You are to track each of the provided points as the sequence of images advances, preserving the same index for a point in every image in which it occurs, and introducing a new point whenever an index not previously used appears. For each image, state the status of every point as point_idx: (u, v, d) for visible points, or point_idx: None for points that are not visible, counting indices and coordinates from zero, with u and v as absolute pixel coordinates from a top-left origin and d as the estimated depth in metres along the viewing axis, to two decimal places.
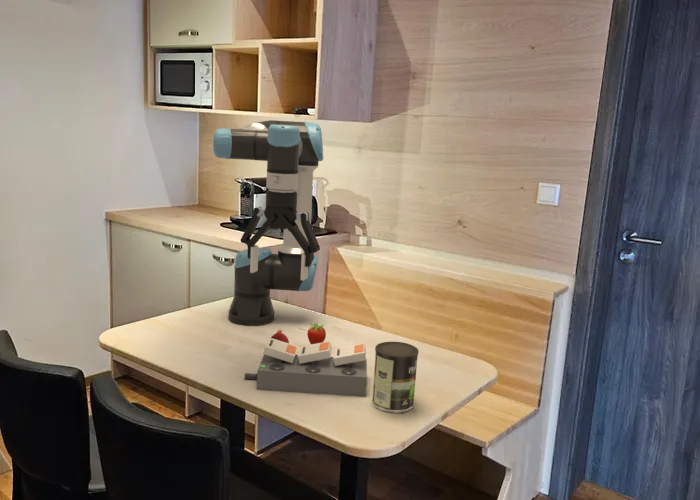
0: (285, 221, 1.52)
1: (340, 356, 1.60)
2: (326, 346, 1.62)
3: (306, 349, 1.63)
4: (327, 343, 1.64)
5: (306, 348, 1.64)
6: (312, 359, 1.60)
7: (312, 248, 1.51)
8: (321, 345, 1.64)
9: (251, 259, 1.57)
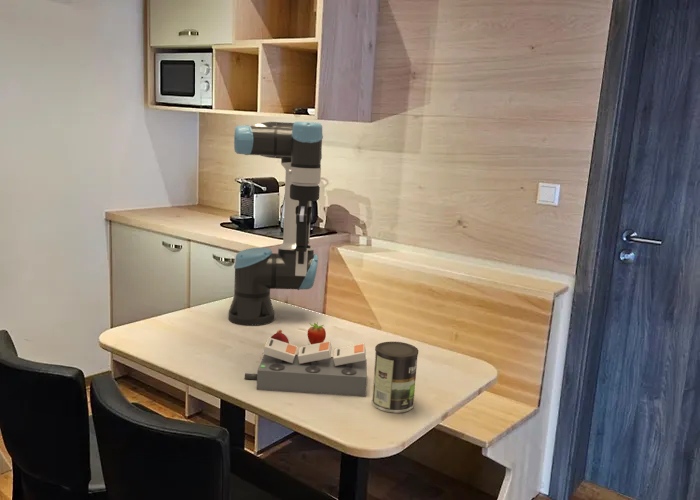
0: None
1: (340, 356, 1.60)
2: (326, 346, 1.62)
3: (306, 349, 1.63)
4: (327, 343, 1.64)
5: (306, 348, 1.64)
6: (312, 359, 1.60)
7: (296, 245, 1.59)
8: (321, 345, 1.64)
9: None
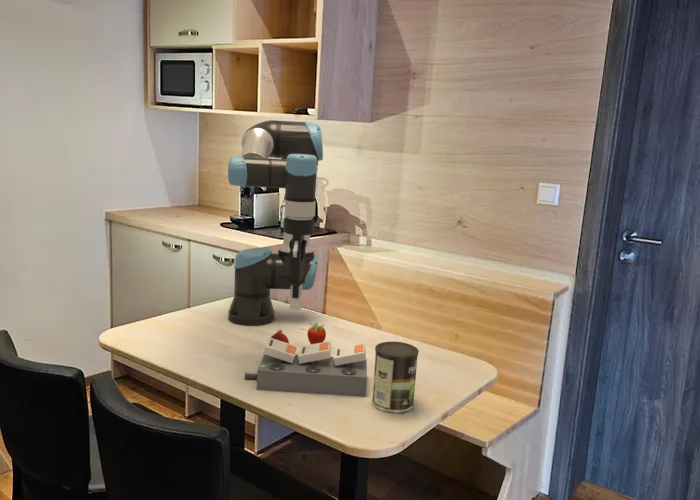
0: None
1: (340, 356, 1.60)
2: (326, 346, 1.62)
3: (306, 349, 1.63)
4: (327, 343, 1.64)
5: (306, 348, 1.64)
6: (312, 359, 1.60)
7: (290, 279, 1.56)
8: (321, 345, 1.64)
9: None
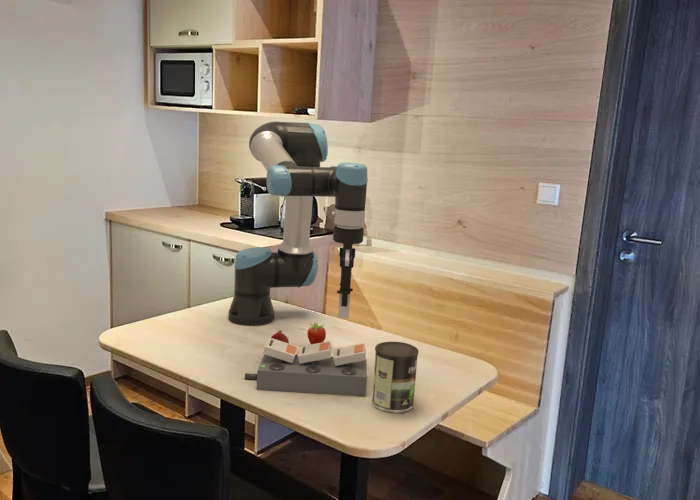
0: None
1: (340, 356, 1.60)
2: (326, 346, 1.62)
3: (306, 349, 1.63)
4: (327, 343, 1.64)
5: (306, 348, 1.64)
6: (312, 359, 1.60)
7: (340, 288, 1.57)
8: (321, 345, 1.64)
9: None
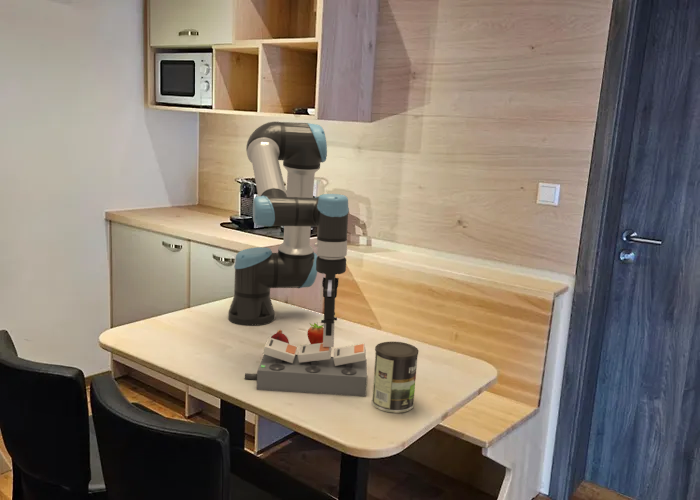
0: None
1: (340, 356, 1.60)
2: (327, 347, 1.62)
3: (306, 348, 1.63)
4: None
5: (306, 347, 1.64)
6: (312, 359, 1.60)
7: (324, 318, 1.58)
8: (321, 345, 1.64)
9: None
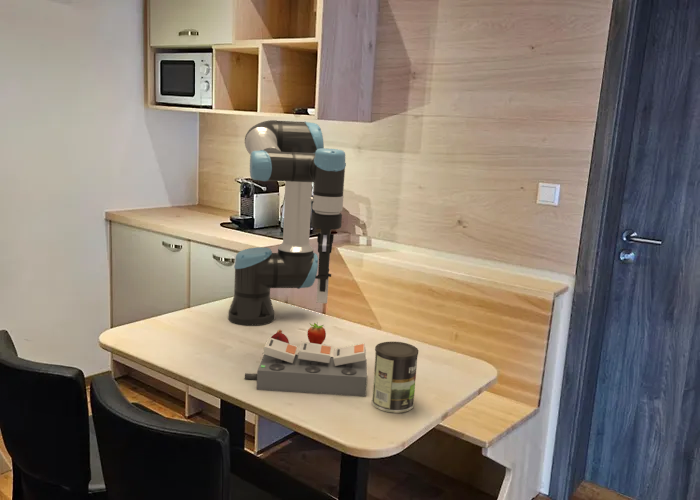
0: None
1: (340, 356, 1.60)
2: (328, 350, 1.62)
3: (307, 346, 1.63)
4: (329, 347, 1.64)
5: (307, 345, 1.64)
6: (311, 358, 1.60)
7: (318, 273, 1.58)
8: (323, 347, 1.64)
9: None
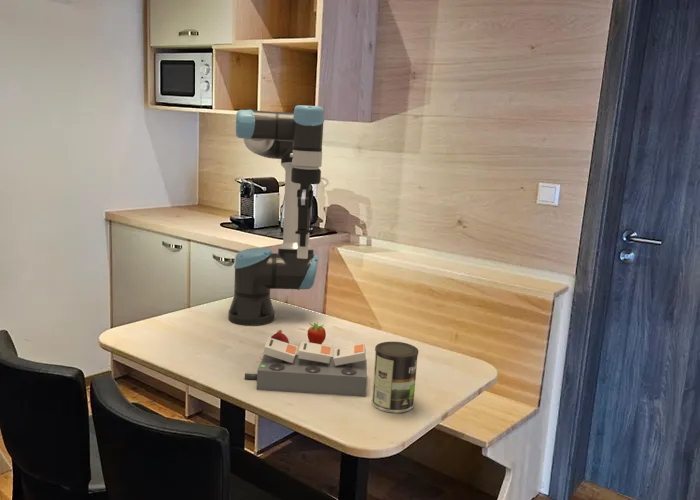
0: None
1: (340, 356, 1.60)
2: (328, 351, 1.62)
3: (307, 346, 1.63)
4: (329, 348, 1.64)
5: (307, 345, 1.64)
6: (311, 358, 1.60)
7: (298, 228, 1.61)
8: (323, 348, 1.64)
9: None
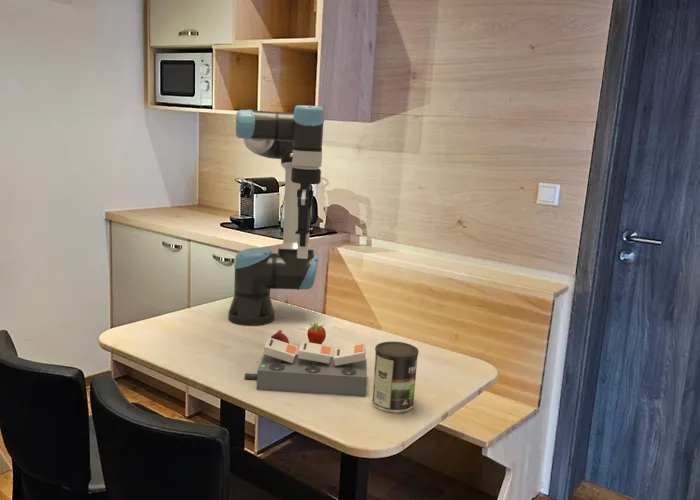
0: None
1: (340, 356, 1.60)
2: (328, 351, 1.62)
3: (307, 346, 1.63)
4: (329, 348, 1.64)
5: (307, 345, 1.64)
6: (311, 358, 1.60)
7: (298, 228, 1.61)
8: (323, 348, 1.64)
9: None
